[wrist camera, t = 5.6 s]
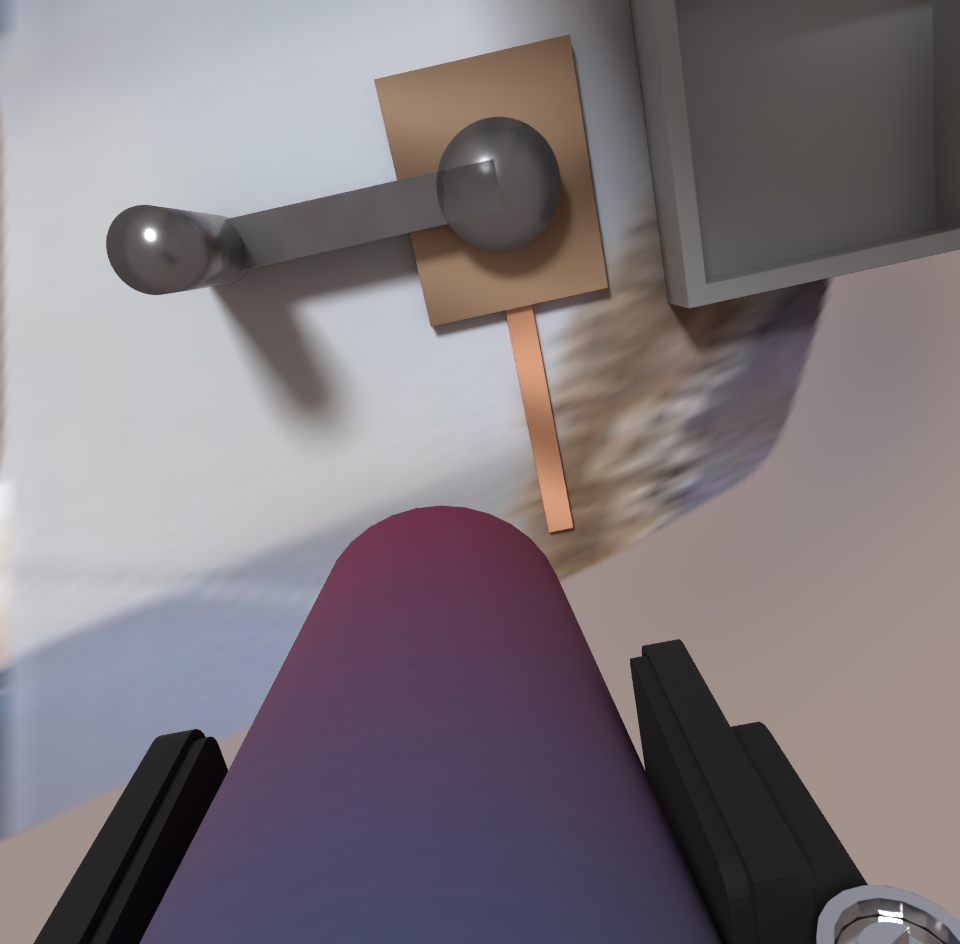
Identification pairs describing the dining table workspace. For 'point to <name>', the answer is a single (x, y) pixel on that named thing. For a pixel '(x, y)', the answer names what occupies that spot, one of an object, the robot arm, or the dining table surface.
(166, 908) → the cup
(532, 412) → the crank base
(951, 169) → the tray
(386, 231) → the crank
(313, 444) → the dining table surface
